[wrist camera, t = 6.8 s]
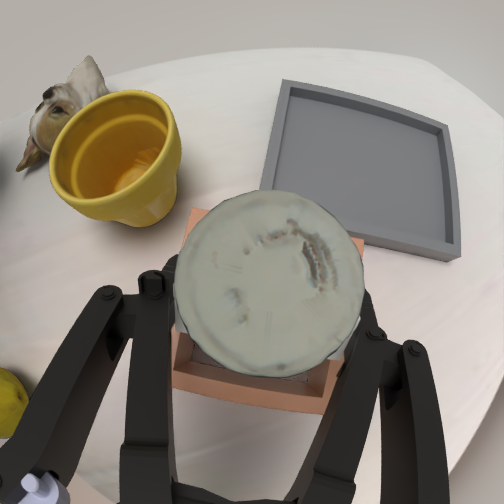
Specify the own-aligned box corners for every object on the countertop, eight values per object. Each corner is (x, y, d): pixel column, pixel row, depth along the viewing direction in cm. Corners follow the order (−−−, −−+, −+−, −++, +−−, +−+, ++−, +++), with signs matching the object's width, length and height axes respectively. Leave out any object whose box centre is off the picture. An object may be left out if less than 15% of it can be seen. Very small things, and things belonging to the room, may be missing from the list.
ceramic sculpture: (116, 46, 23) (28, 171, 20) (142, 94, 31) (76, 202, 29) (57, 46, 24) (-16, 150, 22) (85, 85, 32) (26, 178, 30)
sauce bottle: (304, 287, 26) (438, 183, 7) (290, 359, 24) (407, 441, 5) (229, 272, 26) (183, 123, 7) (213, 343, 25) (108, 388, 5)
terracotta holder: (175, 370, 24) (153, 381, 18) (204, 233, 27) (192, 207, 21) (317, 397, 23) (335, 415, 18) (341, 258, 26) (364, 239, 21)
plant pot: (157, 133, 30) (130, 70, 20) (219, 194, 28) (204, 132, 18) (84, 196, 28) (33, 150, 19) (134, 268, 26) (80, 238, 17)
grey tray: (254, 222, 27) (254, 212, 25) (280, 94, 31) (282, 79, 29) (447, 262, 26) (461, 256, 24) (438, 136, 30) (447, 125, 28)
